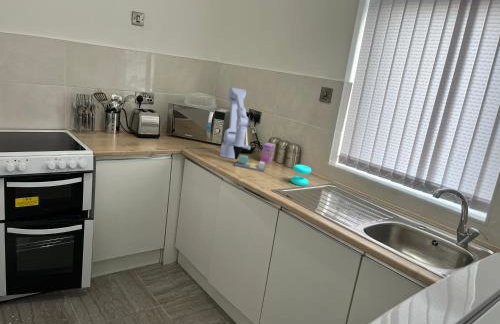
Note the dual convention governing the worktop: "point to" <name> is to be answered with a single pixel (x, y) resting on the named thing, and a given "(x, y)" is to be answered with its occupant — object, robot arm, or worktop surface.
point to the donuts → (298, 179)
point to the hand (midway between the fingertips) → (236, 158)
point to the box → (267, 152)
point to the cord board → (252, 166)
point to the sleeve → (243, 159)
